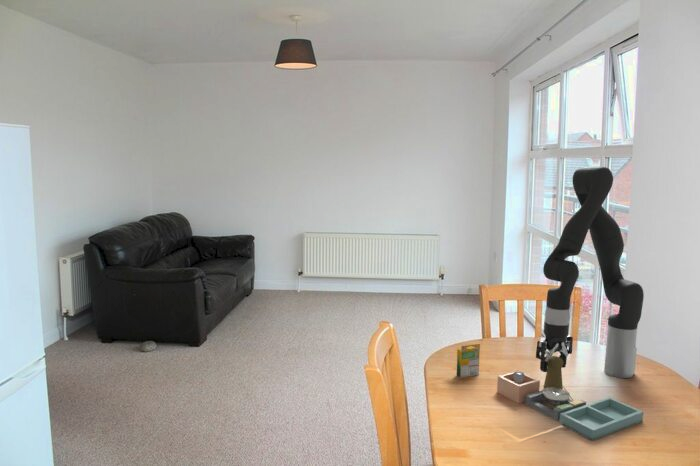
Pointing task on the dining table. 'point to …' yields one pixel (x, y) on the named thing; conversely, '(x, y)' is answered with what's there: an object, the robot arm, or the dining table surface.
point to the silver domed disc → (556, 395)
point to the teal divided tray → (601, 418)
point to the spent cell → (518, 377)
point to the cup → (517, 387)
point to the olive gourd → (554, 373)
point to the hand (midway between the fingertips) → (552, 369)
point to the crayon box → (468, 360)
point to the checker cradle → (537, 398)
